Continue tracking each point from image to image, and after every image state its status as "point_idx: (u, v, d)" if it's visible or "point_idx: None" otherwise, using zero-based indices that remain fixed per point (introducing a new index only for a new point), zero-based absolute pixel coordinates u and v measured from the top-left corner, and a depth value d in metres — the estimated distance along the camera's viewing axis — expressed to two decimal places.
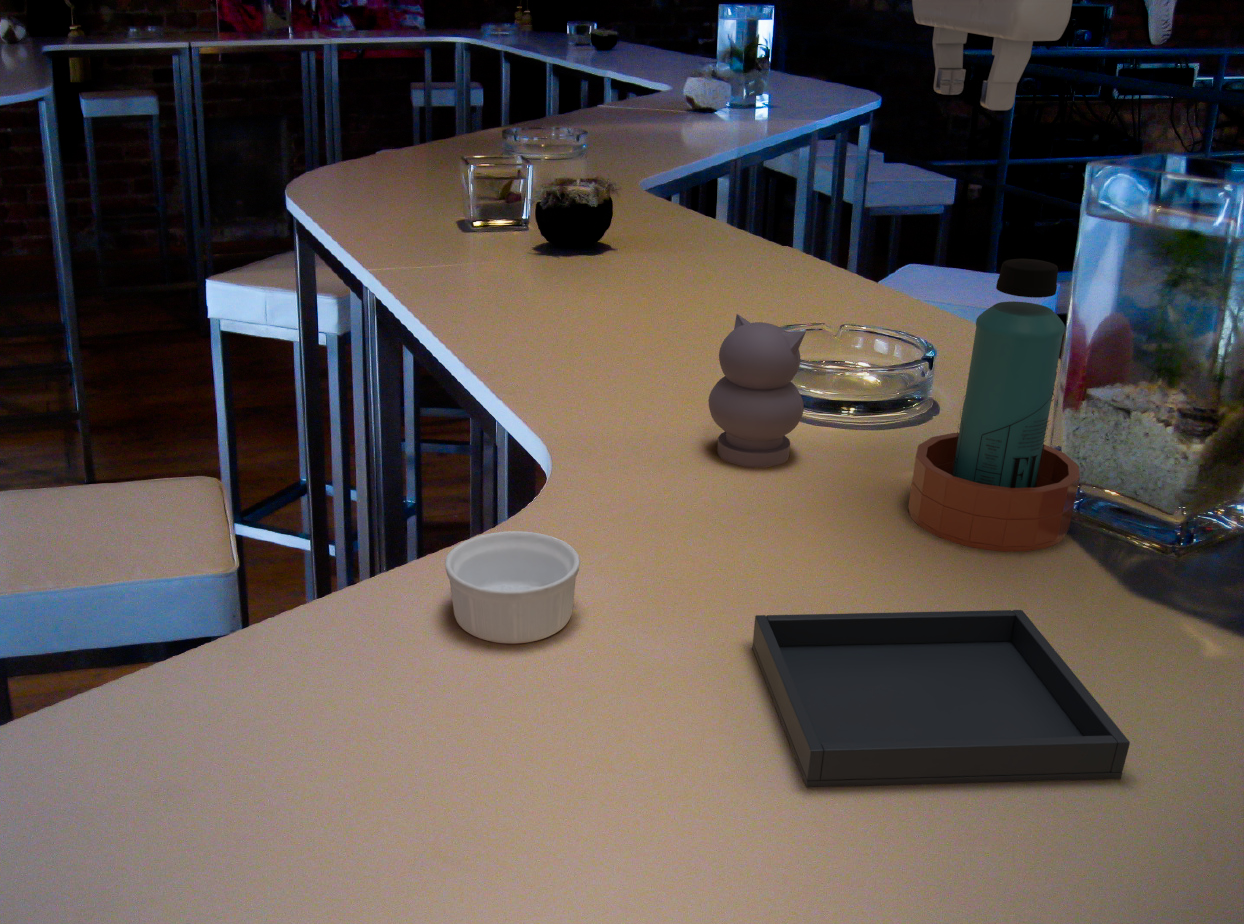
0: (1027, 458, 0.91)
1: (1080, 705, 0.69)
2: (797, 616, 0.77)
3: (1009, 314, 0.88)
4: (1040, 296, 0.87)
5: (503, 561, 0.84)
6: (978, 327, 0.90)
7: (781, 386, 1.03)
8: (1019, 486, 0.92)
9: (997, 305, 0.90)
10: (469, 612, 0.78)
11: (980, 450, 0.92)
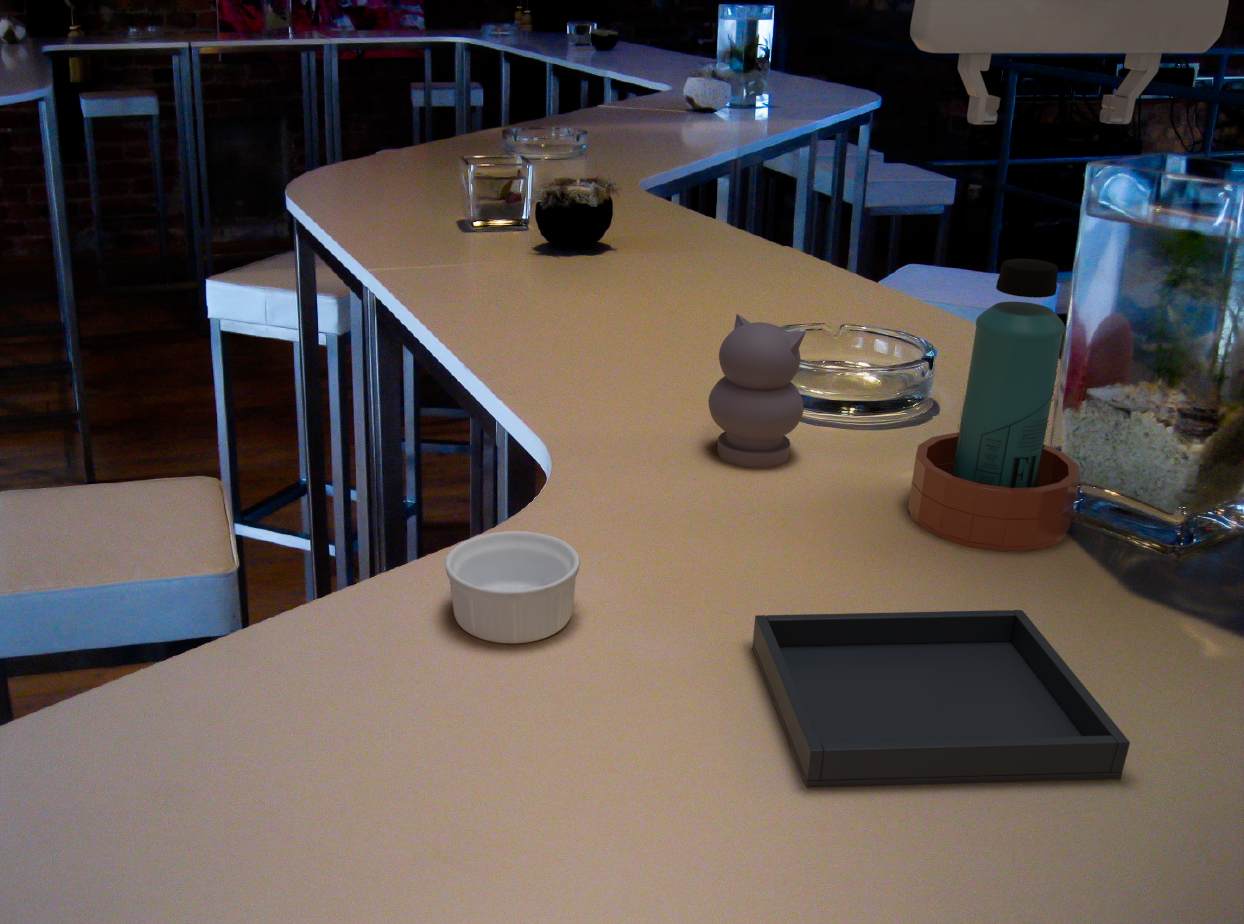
0: (1027, 458, 0.91)
1: (1080, 705, 0.69)
2: (797, 616, 0.77)
3: (1009, 314, 0.88)
4: (1040, 296, 0.87)
5: (503, 561, 0.84)
6: (978, 327, 0.90)
7: (781, 386, 1.03)
8: (1019, 486, 0.92)
9: (997, 305, 0.90)
10: (469, 612, 0.78)
11: (980, 450, 0.92)
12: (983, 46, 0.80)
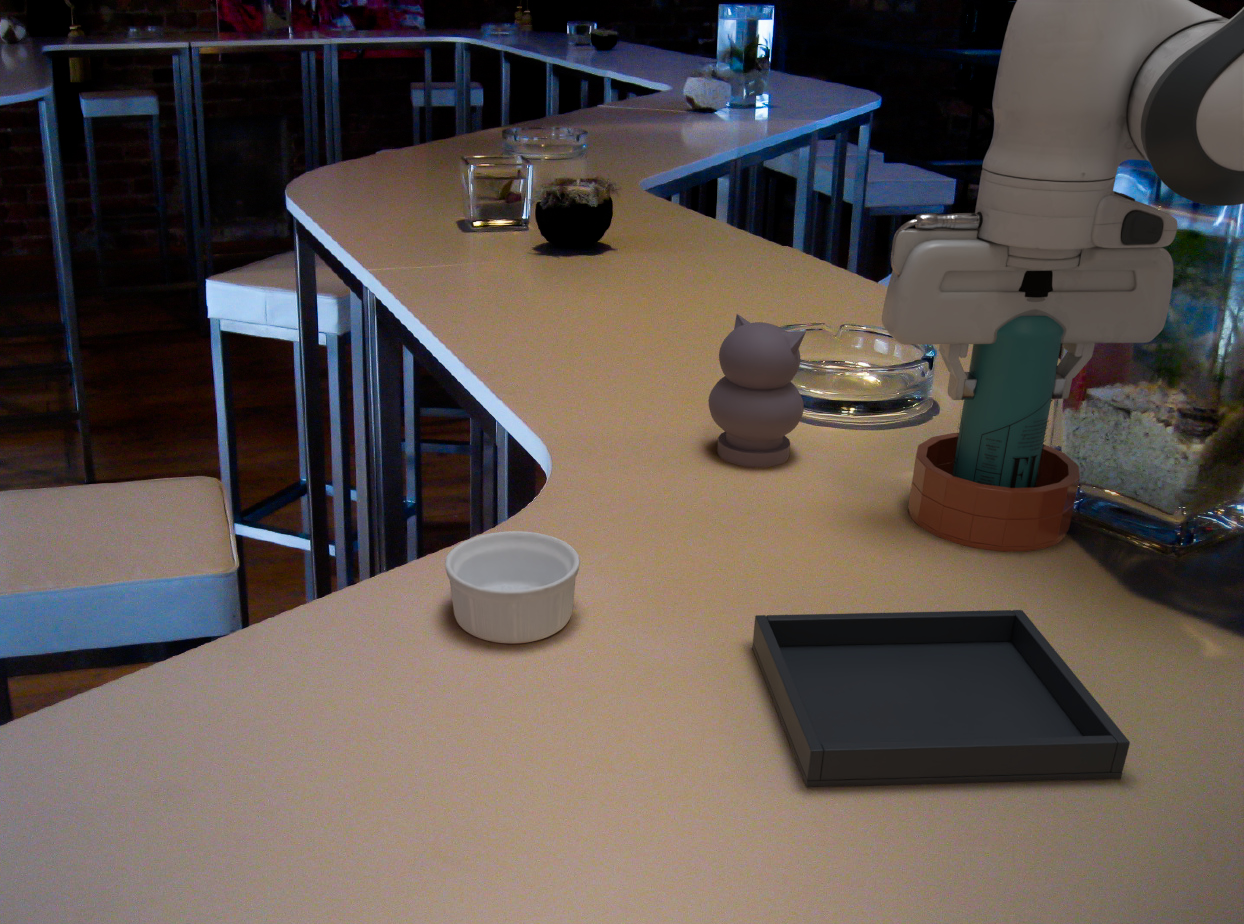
0: (1027, 458, 0.91)
1: (1080, 705, 0.69)
2: (797, 616, 0.77)
3: None
4: (1040, 296, 0.87)
5: (503, 561, 0.84)
6: None
7: (781, 386, 1.03)
8: (1019, 486, 0.92)
9: None
10: (469, 612, 0.78)
11: (980, 450, 0.92)
12: (947, 340, 0.88)
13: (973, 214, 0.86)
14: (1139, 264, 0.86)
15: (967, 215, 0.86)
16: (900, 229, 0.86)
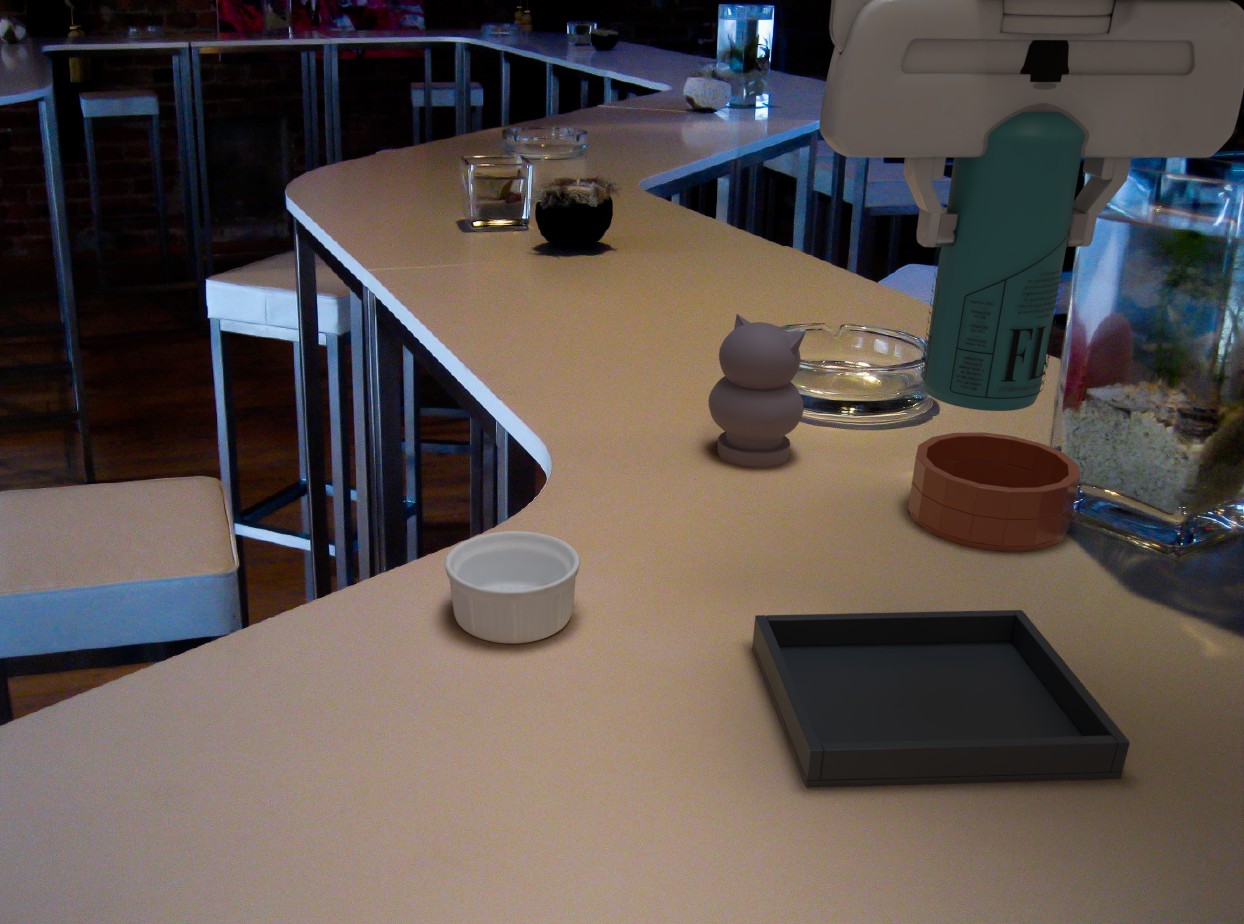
0: (1031, 330, 0.62)
1: (1080, 705, 0.69)
2: (797, 616, 0.77)
3: None
4: (1050, 80, 0.58)
5: (503, 561, 0.84)
6: None
7: (781, 386, 1.03)
8: (1019, 372, 0.63)
9: None
10: (469, 612, 0.78)
11: (963, 320, 0.63)
12: (914, 149, 0.60)
13: None
14: (1200, 30, 0.58)
15: None
16: None
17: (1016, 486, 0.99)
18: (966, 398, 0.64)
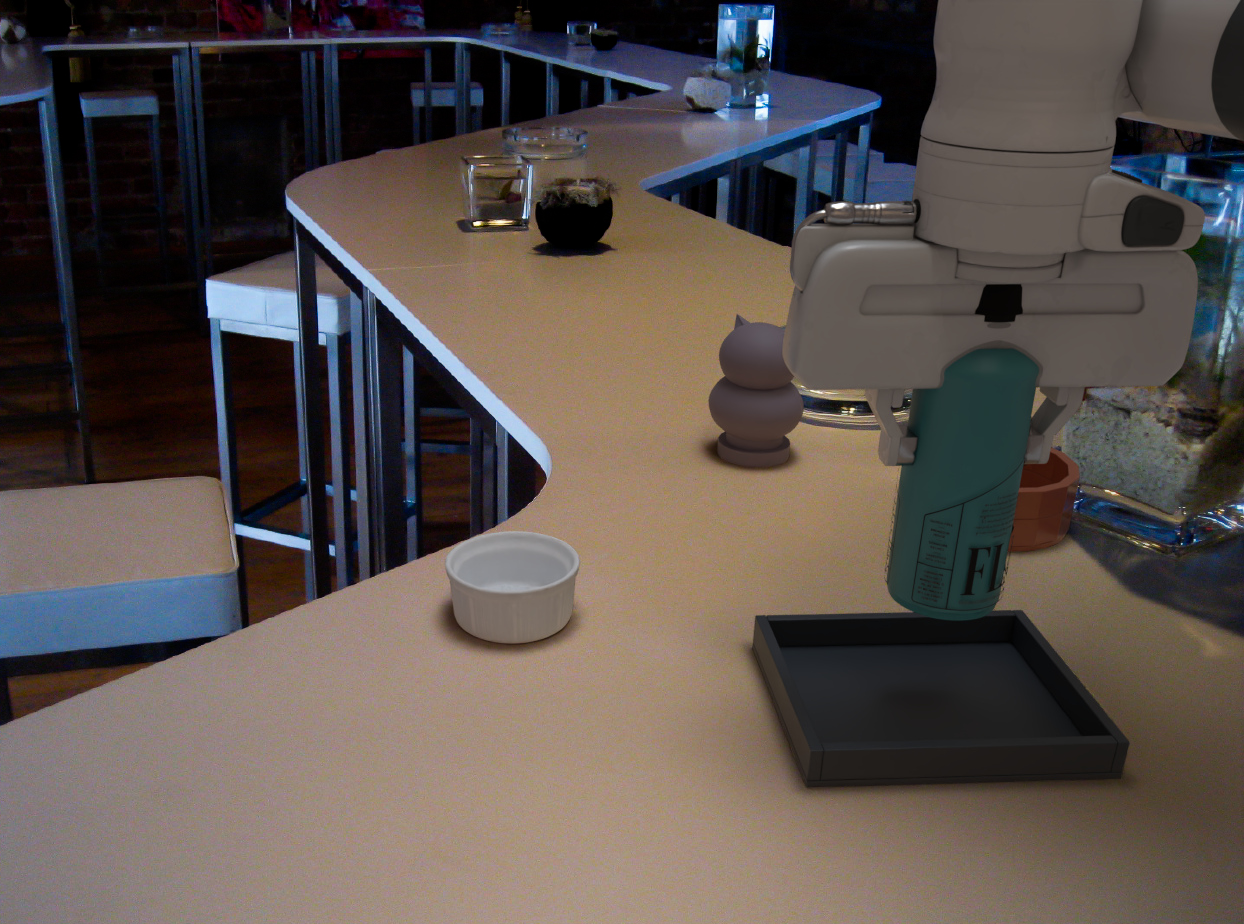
0: (989, 548, 0.64)
1: (1080, 705, 0.69)
2: (797, 616, 0.77)
3: None
4: (1005, 320, 0.60)
5: (503, 561, 0.84)
6: None
7: (781, 386, 1.03)
8: (978, 586, 0.65)
9: None
10: (469, 612, 0.78)
11: (923, 536, 0.65)
12: (873, 383, 0.61)
13: (907, 202, 0.59)
14: (1149, 275, 0.59)
15: (898, 204, 0.59)
16: (802, 224, 0.59)
17: None
18: (927, 608, 0.66)
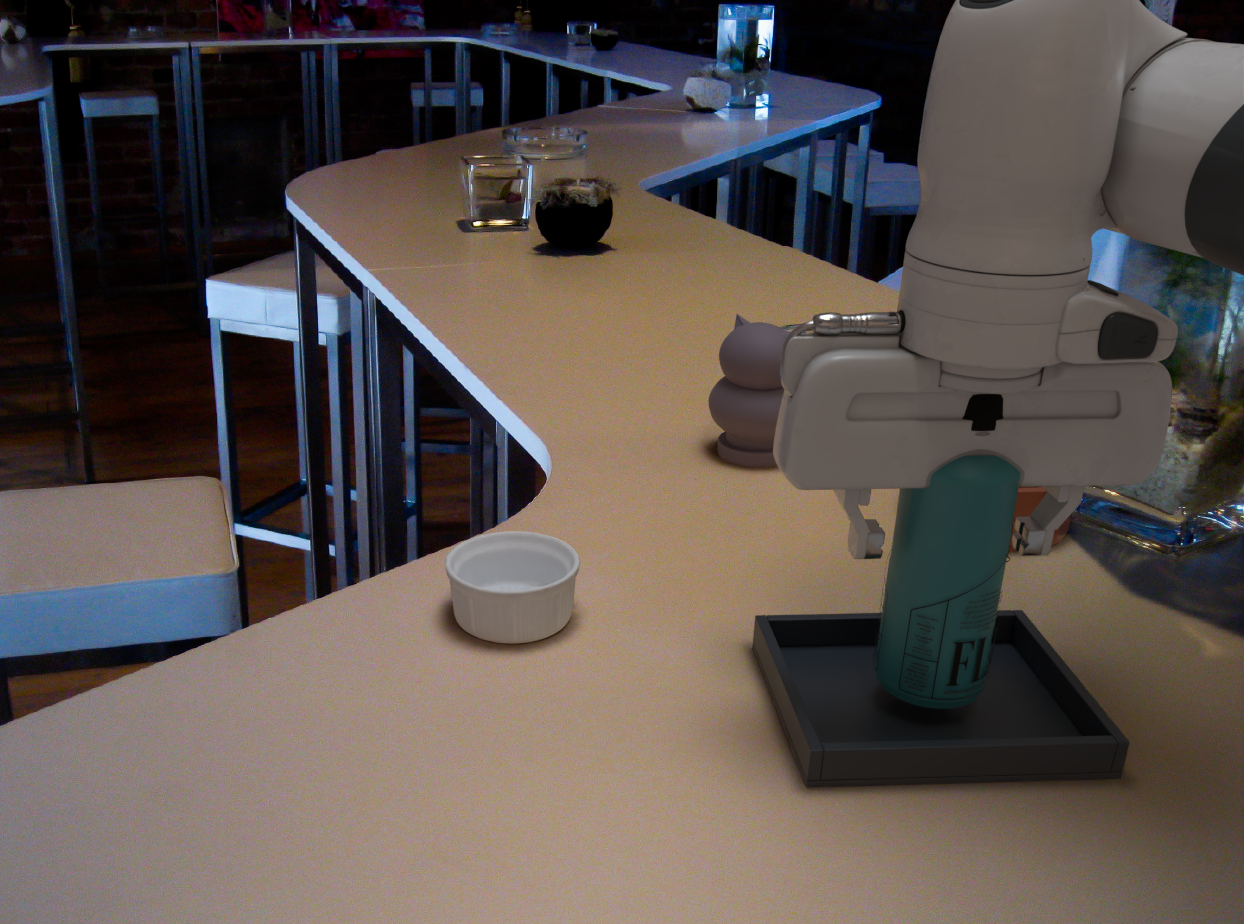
0: (973, 642, 0.67)
1: (1080, 705, 0.69)
2: (797, 616, 0.77)
3: None
4: (987, 429, 0.63)
5: (503, 561, 0.84)
6: None
7: (781, 386, 1.03)
8: (963, 677, 0.68)
9: None
10: (469, 612, 0.78)
11: (910, 629, 0.67)
12: (860, 484, 0.64)
13: (892, 314, 0.61)
14: (1125, 383, 0.62)
15: (884, 315, 0.61)
16: (791, 334, 0.62)
17: None
18: (913, 697, 0.69)
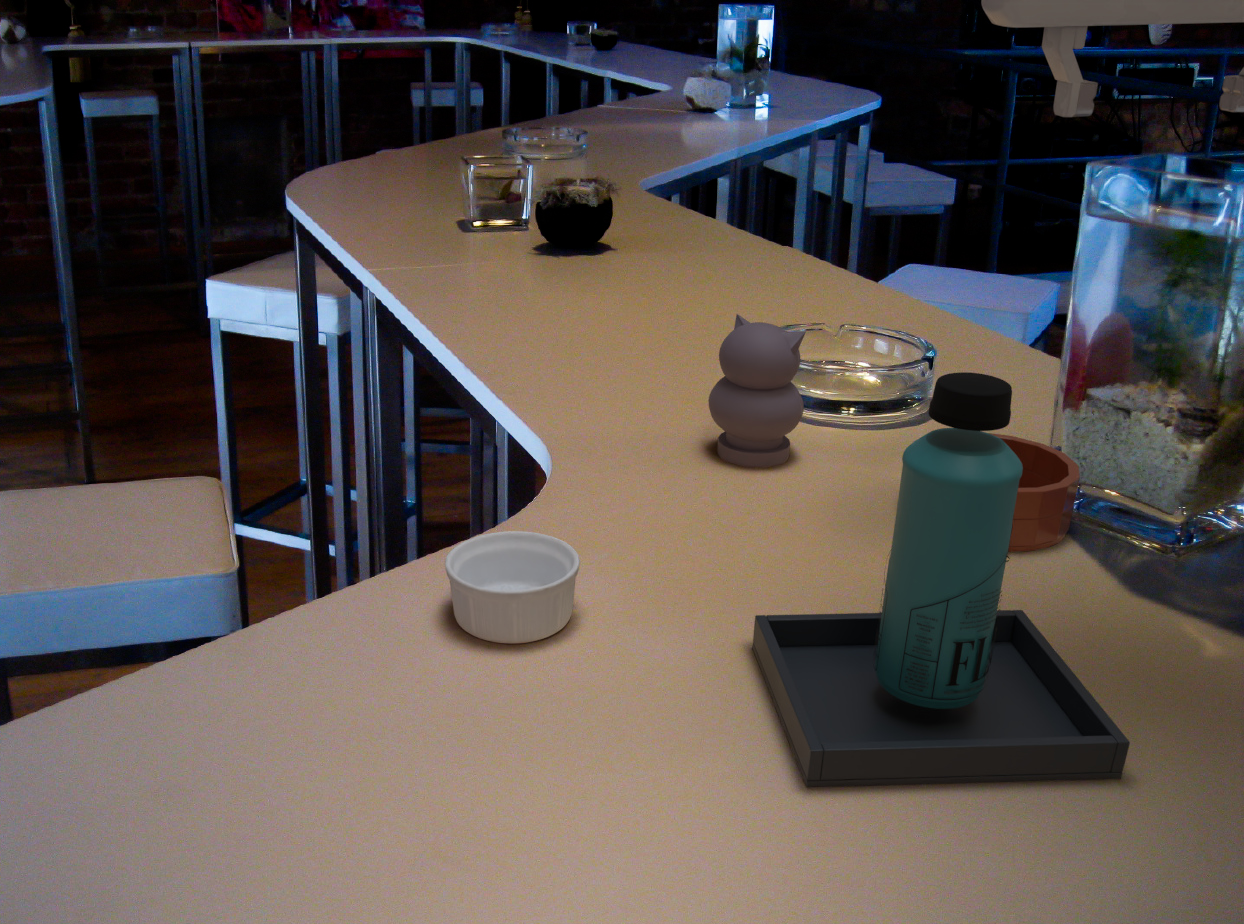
0: (973, 642, 0.67)
1: (1080, 705, 0.69)
2: (797, 616, 0.77)
3: (945, 451, 0.64)
4: (987, 429, 0.63)
5: (503, 561, 0.84)
6: (904, 466, 0.65)
7: (781, 386, 1.03)
8: (963, 677, 0.68)
9: (931, 435, 0.66)
10: (469, 612, 0.78)
11: (910, 629, 0.67)
12: (1078, 17, 0.63)
13: None
14: None
15: None
16: None
17: None
18: (913, 697, 0.69)
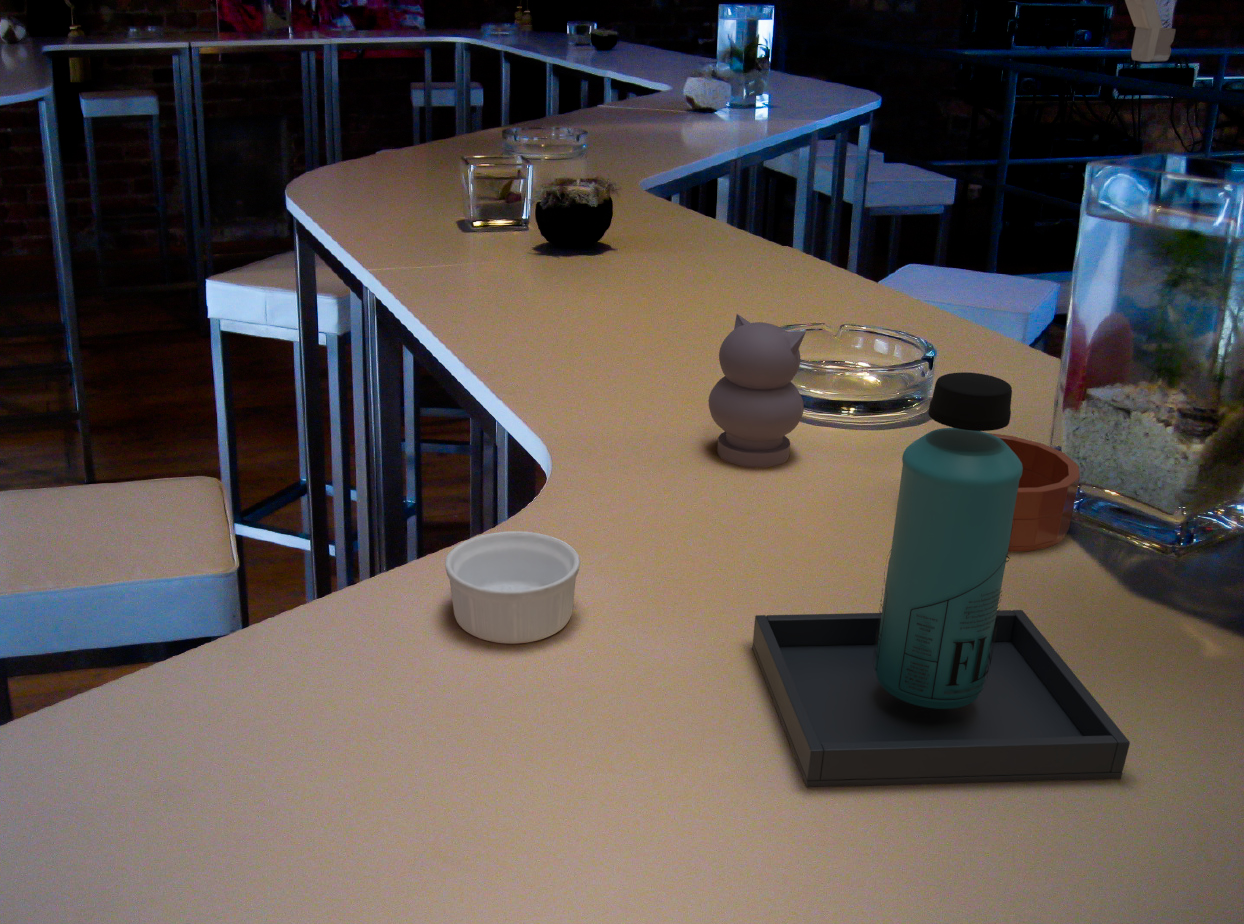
0: (972, 642, 0.67)
1: (1080, 705, 0.69)
2: (797, 616, 0.77)
3: (945, 451, 0.64)
4: (987, 429, 0.63)
5: (503, 561, 0.84)
6: (904, 466, 0.65)
7: (781, 386, 1.03)
8: (963, 677, 0.68)
9: (931, 435, 0.66)
10: (469, 612, 0.78)
11: (910, 629, 0.67)
12: None
13: None
14: None
15: None
16: None
17: None
18: (913, 697, 0.69)
